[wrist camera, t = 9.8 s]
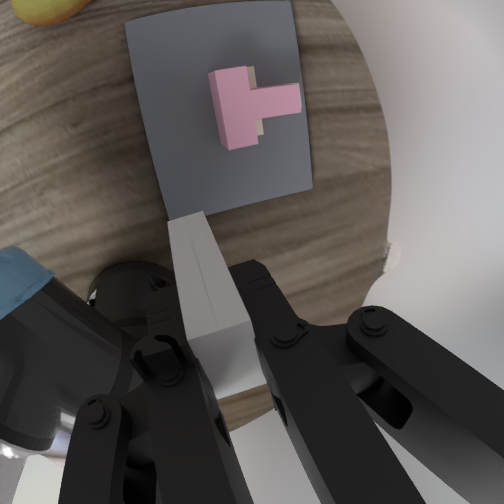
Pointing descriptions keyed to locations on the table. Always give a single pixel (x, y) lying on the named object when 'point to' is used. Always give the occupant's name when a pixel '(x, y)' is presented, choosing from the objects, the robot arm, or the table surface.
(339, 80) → the table surface
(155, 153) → the board
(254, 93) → the t block
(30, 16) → the apple
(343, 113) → the table surface
